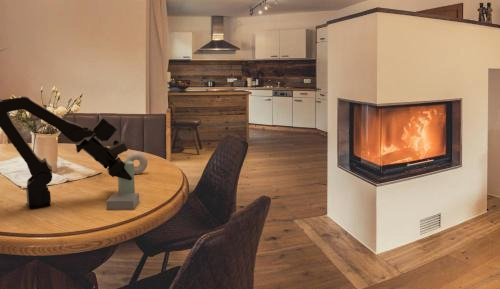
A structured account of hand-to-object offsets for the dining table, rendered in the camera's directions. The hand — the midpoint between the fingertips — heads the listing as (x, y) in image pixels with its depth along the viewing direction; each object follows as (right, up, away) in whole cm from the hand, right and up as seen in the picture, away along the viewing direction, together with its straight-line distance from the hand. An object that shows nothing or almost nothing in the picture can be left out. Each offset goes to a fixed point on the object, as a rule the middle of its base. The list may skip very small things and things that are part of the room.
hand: (129, 177), depth 153 cm
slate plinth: (+1, -9, -11) cm, 14 cm away
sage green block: (-1, -7, +1) cm, 7 cm away
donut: (-6, -1, +32) cm, 33 cm away
